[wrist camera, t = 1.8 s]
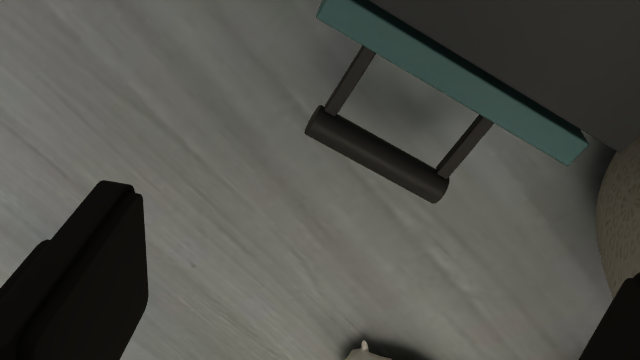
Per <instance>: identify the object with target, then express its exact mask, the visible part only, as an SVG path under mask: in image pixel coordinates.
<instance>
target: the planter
mask: <svg viewBox="0 0 640 360" xmlns="http://www.w3.org/2000/svg"><path fill="white" fill-rule="evenodd" d="M596 234H597V243H598V248H599V252H600V256H601V261H602V265H603V269H604V273H605V276H606V279H607V282H608V285H609V288H610V290H611V293H612V296H613V299H614V297H615V296H616V294H617V292H618V290H619V289H620V287H621V285H622V283H623V282H624V281H625V280H626V279H627V278H633V277H634V276H635V275H636V274H637V273H639V272H640V135H639V136H638V137H637V138H636V139H635V140H634V141H633V142H632V143H631V144H630V145H629V146H628V147H627V148H626V149H625V150H624V151H622V152H621V153H619V152H616V153H615V155H614V157H613V158H612V160H611V162H610V164H609V166H608V168H607V170H606V173H605V175H604V178H603V181H602V184H601V188H600V191H599V195H598V201H597V208H596Z"/></svg>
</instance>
